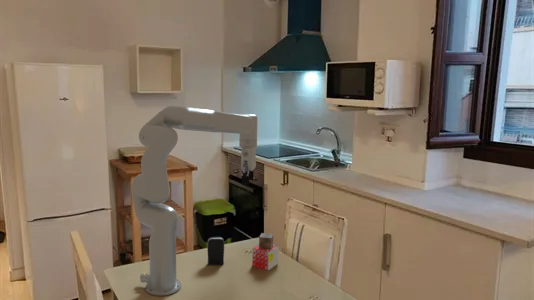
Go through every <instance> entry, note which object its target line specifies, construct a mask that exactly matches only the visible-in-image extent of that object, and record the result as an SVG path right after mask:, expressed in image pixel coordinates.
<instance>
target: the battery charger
mask: <svg viewBox="0 0 534 300" xmlns="http://www.w3.org/2000/svg"><path fill="white" fill-rule="evenodd" d="M206 244H207V245H206V247H207V248H206V249H207V265H209V266H211V265H212V266H215V265H224V263H225V262H224V261H225V260H224V257H225V241H224V238H223V237H222V236H210V237H209V238H208V239H207V243H206Z"/></svg>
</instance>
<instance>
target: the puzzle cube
mask: <svg viewBox="0 0 534 300" xmlns="http://www.w3.org/2000/svg"><path fill="white" fill-rule="evenodd" d="M278 264H279V246H278V245H275V244H273V246H272V248H271V250H269V249H259V244H257V245H255V246H254V247H252V264H251V265H252V266H253V267H256V268H259V269H263V270H267V271H269V270H271V269H273V268H274V267H275V266H277V265H278Z"/></svg>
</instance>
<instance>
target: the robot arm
mask: <svg viewBox="0 0 534 300" xmlns="http://www.w3.org/2000/svg"><path fill="white" fill-rule="evenodd" d="M175 129H176V130H183V131H195V132H205V133H207V132H208V133H227V134H239V139H238V140H239V142H238V143H239V146H238V147H239V148H241V149H240V150H241V151H240V152H241V154H240V169H241V181H240V182H241V186H249V185H250V181H254V172H255V171H254V170H255V169H256V166H257V161H256V160H257V159H256V158H257V156H256V155H257V154H256V148H257V147H258V116H257V115H256V114H252V113H242V114H237V113H231V112H223V111H218V110H213V109H205V108H199V107H190V106H181V105H179V106H178V105H169V106H166V107H165V108H162V110H161V111H159V112H158V113H157V114H155V115H154V116H153V117H152V118H151V119H149V121H147V122H146V123H145V124H144V125H143V126H142V127H141V128H140V130H139V132H138V140H139V142H140V144H141V145H143V146H144V147H145V148H146V149H145V150H144V152H143V154H142V156H141V161H140V166H141V169H140V171H141V173H138V174H137V175H136V176H135V177H134V179H133V180H132V182H131V187H130V190H131V198H132V204H133V208H134V212H135V217H136V219H137V221H138V222H139V223H140V224H141V225H144V226H146V227H147V228H150V229H151V230H152V231H151V234H150V238H149V239H148V240H149V242H148V249H149V250H148V251H149V252H148V253H149V255H148V256H149V274H140V276H139V279H140V283H146V285H145V291H146V292H147V294H150V295H152V296H159V297H160V296H161V297H163V296H168V295H172V294H175V293H177V292H178V291H179V290H180V289H181V288H182V285H181V281H180V280H179V279H177V231H178V225H179V214H178V213H177V211H176V210H175V209H174V208H173V207H172V206H170V205H167V204H164V203H165V202H167V201H168V200H169V198H170V196H171V189H170V188H171V187H170V183H169V175H168V171H167V170H168V169H167V159H168V158H169V156H170V154H171V152H172V151H173V150H174V149H175V147H176V145H177V144H178V141H179V135H178V133H177V131H176V130H175Z"/></svg>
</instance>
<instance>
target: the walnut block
mask: <svg viewBox="0 0 534 300" xmlns="http://www.w3.org/2000/svg"><path fill="white" fill-rule="evenodd" d="M258 241H259V242H258V245H259V249H269V250H271V248H272V246H273V245H274V233H268V232H267V233H266V232H265V233H264V232H261V234H260V235H259V237H258Z"/></svg>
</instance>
